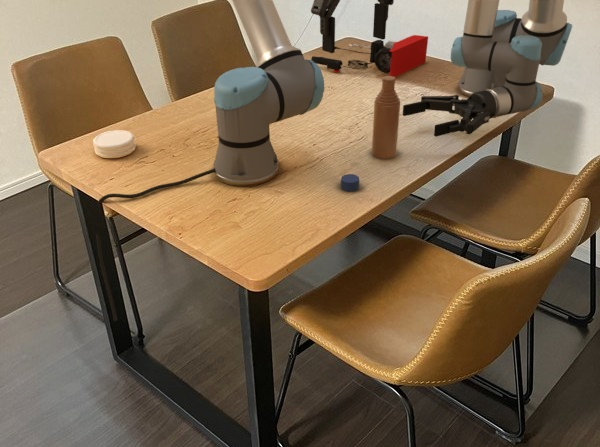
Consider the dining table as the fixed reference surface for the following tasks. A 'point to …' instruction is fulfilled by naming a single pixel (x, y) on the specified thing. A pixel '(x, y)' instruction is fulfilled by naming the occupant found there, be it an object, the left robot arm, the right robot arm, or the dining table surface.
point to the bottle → (386, 120)
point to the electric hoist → (386, 56)
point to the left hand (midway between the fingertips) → (354, 44)
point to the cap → (350, 182)
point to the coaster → (114, 144)
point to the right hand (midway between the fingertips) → (418, 120)
